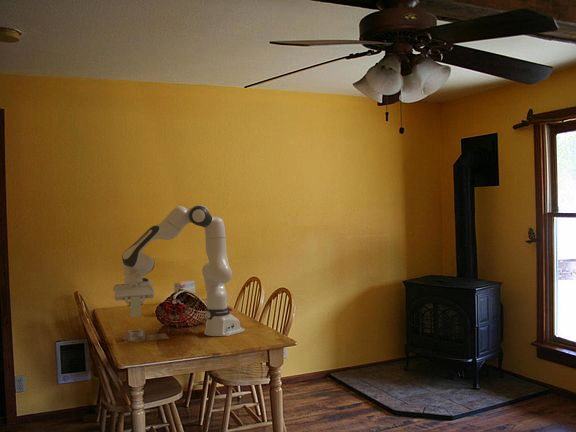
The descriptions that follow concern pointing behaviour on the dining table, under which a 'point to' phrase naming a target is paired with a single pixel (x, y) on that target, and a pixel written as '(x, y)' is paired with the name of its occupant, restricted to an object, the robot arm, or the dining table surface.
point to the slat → (135, 306)
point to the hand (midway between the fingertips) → (135, 305)
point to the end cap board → (142, 336)
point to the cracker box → (185, 286)
